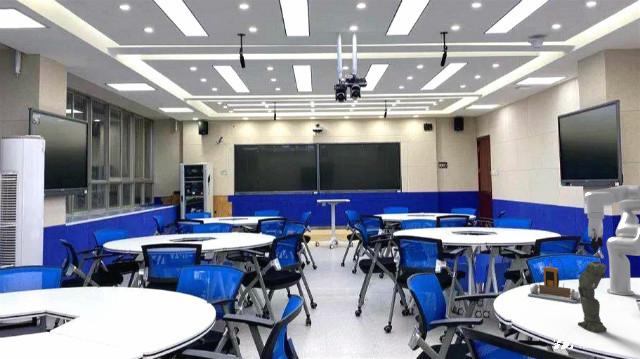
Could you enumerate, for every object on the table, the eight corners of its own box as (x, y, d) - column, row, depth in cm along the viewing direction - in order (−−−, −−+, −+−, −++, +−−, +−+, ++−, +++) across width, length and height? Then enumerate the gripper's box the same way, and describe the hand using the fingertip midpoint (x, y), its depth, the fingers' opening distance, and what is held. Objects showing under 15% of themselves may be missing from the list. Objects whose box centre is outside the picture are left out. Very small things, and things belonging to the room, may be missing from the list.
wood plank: (538, 293, 235) (538, 284, 235) (539, 293, 236) (539, 284, 236) (570, 298, 224) (569, 288, 224) (571, 297, 226) (570, 288, 226)
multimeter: (571, 290, 247) (570, 256, 248) (563, 292, 241) (562, 257, 242) (546, 285, 259) (545, 253, 260) (537, 288, 254) (536, 254, 254)
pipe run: (535, 292, 243) (535, 281, 243) (581, 299, 227) (580, 287, 227) (527, 296, 234) (527, 285, 234) (574, 303, 218) (574, 291, 218)
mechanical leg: (569, 320, 188) (578, 256, 181) (584, 319, 188) (594, 256, 182) (591, 338, 174) (602, 270, 168) (607, 337, 175) (619, 269, 168)
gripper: (591, 214, 236) (593, 245, 235) (583, 216, 224) (584, 248, 223) (607, 214, 230) (609, 246, 230) (599, 216, 218) (601, 250, 218)
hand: (597, 247), depth 227 cm, fingers open, 9 cm apart
